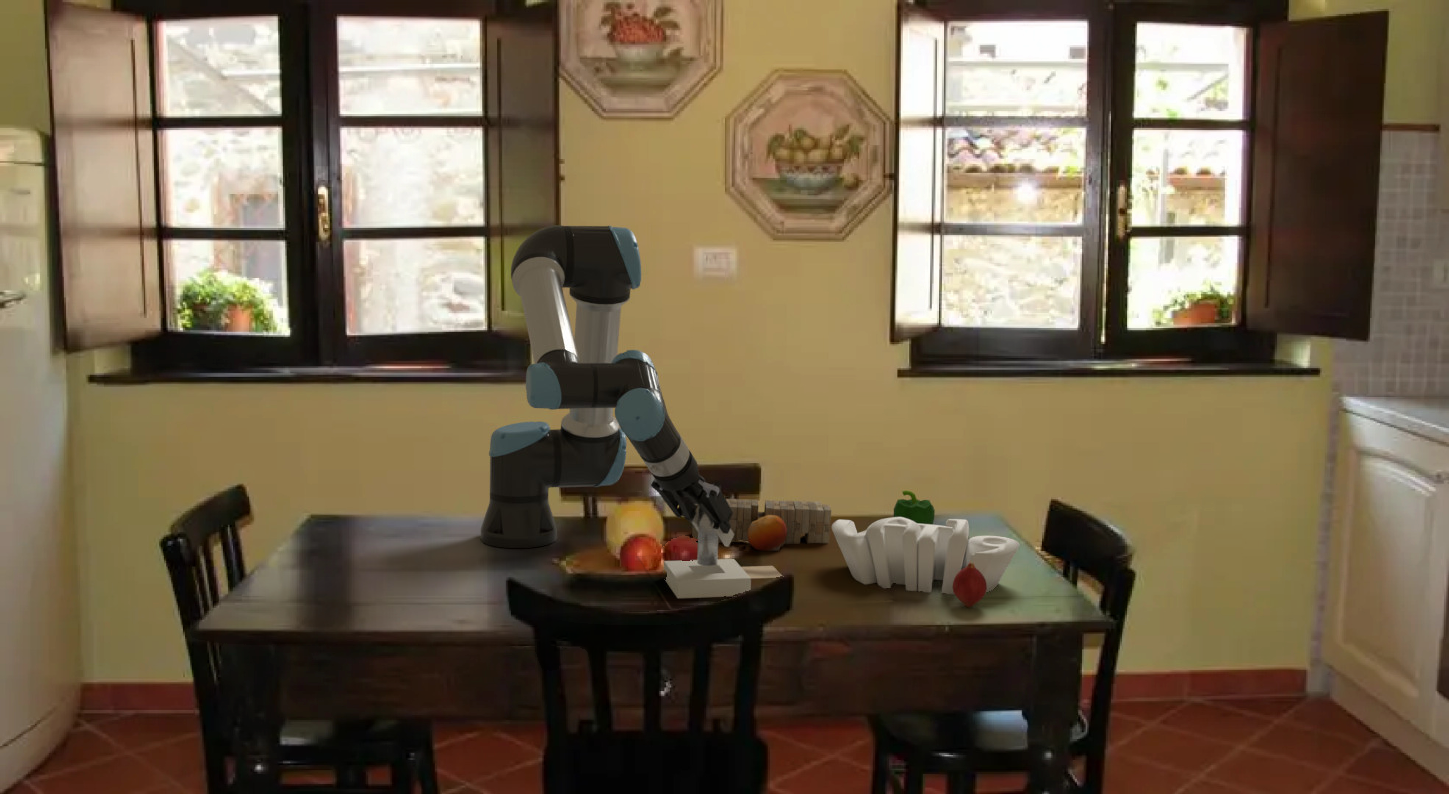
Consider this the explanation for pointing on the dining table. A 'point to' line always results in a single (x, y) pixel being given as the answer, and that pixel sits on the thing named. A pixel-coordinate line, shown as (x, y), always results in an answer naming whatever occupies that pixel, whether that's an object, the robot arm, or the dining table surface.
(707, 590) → the slot block
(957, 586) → the onion
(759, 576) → the coaster
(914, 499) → the bell pepper
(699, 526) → the pin
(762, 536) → the fruit
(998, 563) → the white wavy slab sculpture
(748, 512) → the block tower
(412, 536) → the dining table surface
